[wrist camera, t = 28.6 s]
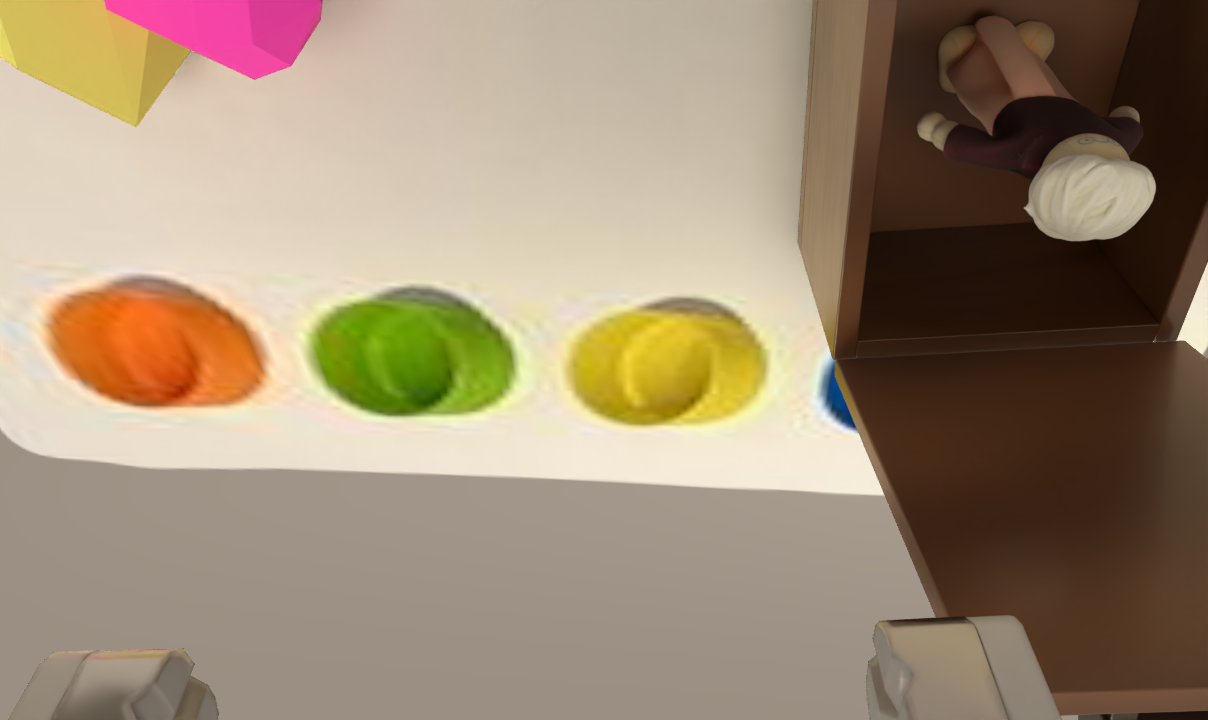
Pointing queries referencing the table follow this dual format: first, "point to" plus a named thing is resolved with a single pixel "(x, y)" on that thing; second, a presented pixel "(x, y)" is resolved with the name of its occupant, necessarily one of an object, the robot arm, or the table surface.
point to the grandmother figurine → (1039, 131)
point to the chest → (994, 184)
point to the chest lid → (1057, 507)
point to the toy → (147, 43)
